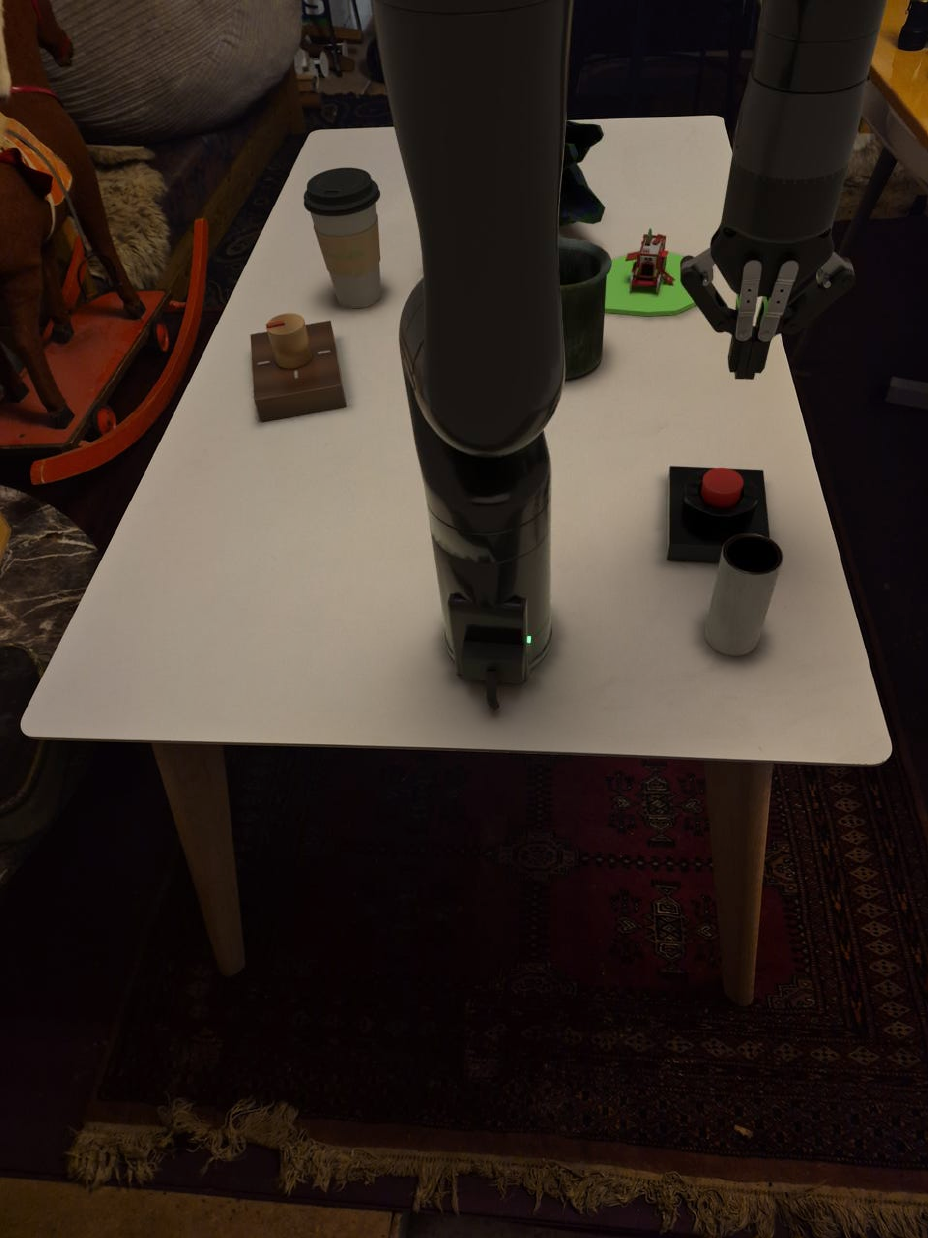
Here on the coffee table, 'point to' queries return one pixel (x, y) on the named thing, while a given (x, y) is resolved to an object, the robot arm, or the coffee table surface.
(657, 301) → the toy diorama
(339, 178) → the coffee cup
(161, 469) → the coffee table surface
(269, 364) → the panel
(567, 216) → the decorative plant
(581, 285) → the mug
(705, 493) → the button
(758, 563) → the planter
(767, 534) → the button block
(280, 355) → the knob
